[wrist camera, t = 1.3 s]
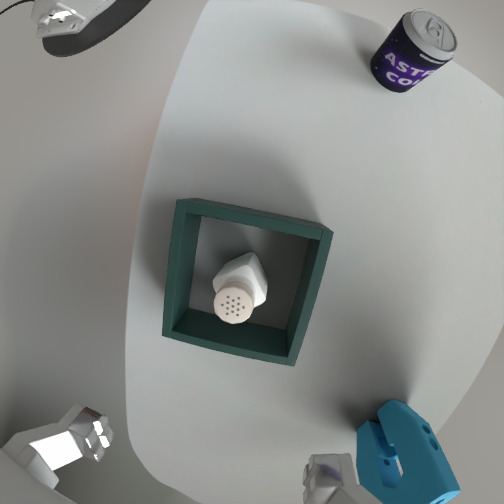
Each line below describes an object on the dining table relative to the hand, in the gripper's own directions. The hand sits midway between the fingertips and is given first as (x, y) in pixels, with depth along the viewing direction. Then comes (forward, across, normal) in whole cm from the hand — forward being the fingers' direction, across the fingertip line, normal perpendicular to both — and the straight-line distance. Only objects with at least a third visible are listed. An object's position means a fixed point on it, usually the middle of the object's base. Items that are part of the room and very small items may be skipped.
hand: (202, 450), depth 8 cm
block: (+23, -23, +22) cm, 39 cm away
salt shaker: (+23, +1, 0) cm, 23 cm away
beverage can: (+23, -14, -26) cm, 37 cm away
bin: (+23, +1, 0) cm, 23 cm away
